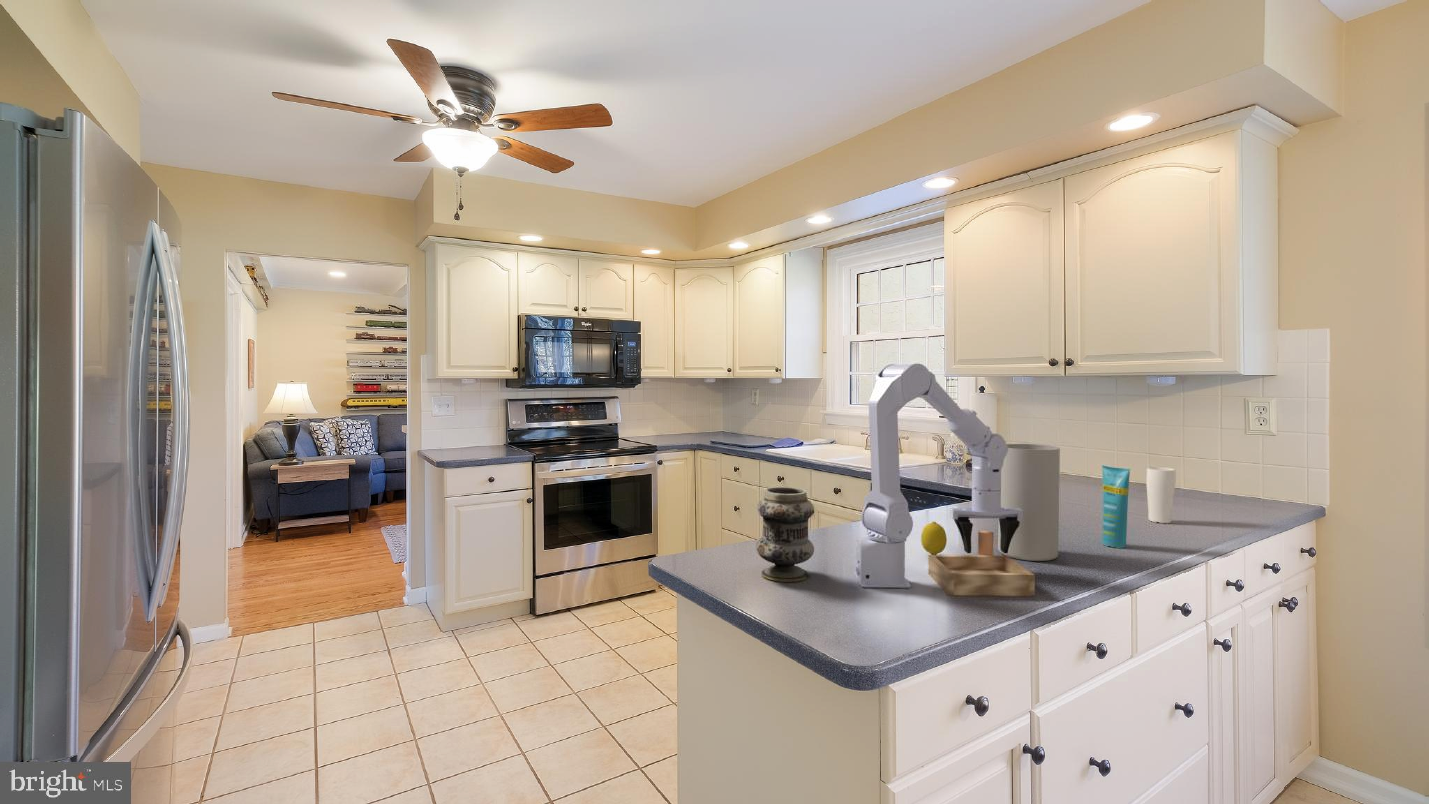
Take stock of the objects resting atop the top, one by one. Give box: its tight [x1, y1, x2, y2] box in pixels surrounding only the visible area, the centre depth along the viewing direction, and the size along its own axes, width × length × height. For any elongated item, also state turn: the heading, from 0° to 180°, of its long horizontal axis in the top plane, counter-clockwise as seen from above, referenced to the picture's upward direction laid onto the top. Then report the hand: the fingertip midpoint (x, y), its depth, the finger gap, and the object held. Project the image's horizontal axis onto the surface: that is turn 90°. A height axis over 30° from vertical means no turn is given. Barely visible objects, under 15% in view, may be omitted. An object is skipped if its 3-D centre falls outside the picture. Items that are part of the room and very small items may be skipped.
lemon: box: [920, 521, 948, 555], centre depth 148 cm, size 6×6×8 cm
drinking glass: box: [1145, 466, 1177, 524], centre depth 181 cm, size 7×7×15 cm
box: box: [928, 554, 1036, 597], centre depth 128 cm, size 16×13×4 cm
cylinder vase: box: [997, 443, 1061, 562], centre depth 149 cm, size 12×12×25 cm
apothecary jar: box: [755, 486, 815, 583], centre depth 135 cm, size 12×12×18 cm
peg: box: [977, 530, 994, 555], centre depth 138 cm, size 3×3×8 cm
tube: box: [1101, 464, 1131, 549], centre depth 156 cm, size 7×5×19 cm, turn 23°
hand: (985, 552), depth 138 cm, fingers open, 7 cm apart
